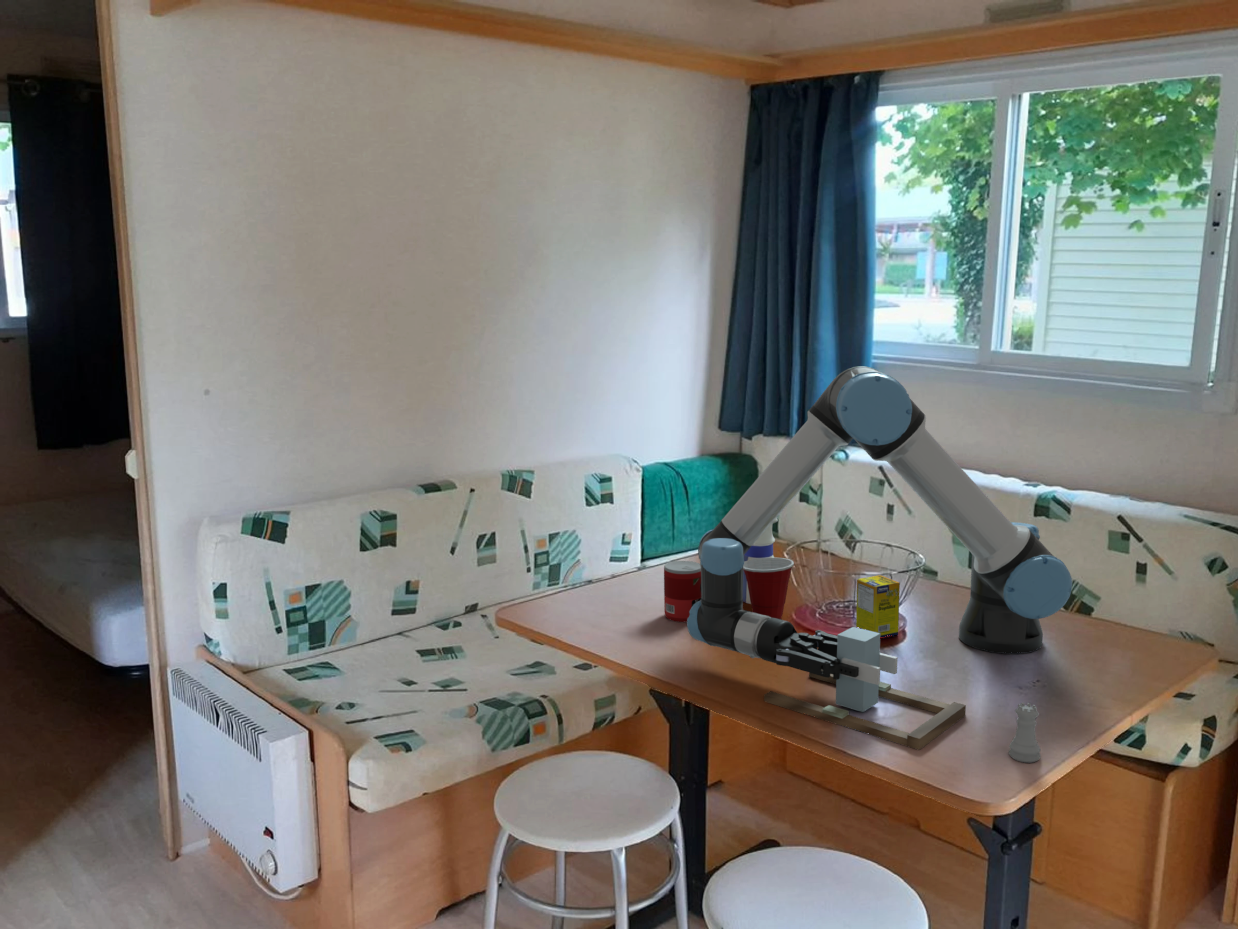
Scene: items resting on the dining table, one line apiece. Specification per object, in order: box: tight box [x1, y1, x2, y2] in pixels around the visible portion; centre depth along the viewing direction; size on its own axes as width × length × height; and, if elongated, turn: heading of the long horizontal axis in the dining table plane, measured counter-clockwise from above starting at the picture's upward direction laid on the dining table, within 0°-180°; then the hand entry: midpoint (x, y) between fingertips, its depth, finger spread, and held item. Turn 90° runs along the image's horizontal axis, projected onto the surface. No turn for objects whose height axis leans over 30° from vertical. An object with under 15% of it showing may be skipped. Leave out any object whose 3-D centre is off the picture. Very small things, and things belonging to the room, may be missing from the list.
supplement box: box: [855, 574, 901, 637], centre depth 208 cm, size 6×6×11 cm
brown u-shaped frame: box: [763, 670, 967, 751], centre depth 175 cm, size 28×16×2 cm, turn 48°
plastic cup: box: [743, 556, 795, 620], centre depth 219 cm, size 11×11×12 cm
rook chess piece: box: [1008, 702, 1042, 764], centre depth 157 cm, size 4×4×8 cm
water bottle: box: [743, 516, 779, 605], centre depth 230 cm, size 8×9×25 cm
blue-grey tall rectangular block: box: [835, 626, 881, 713], centre depth 174 cm, size 5×5×12 cm
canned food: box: [663, 560, 702, 623], centre depth 220 cm, size 8×8×11 cm
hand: (887, 670), depth 171 cm, fingers closed on blue-grey tall rectangular block, 5 cm apart
